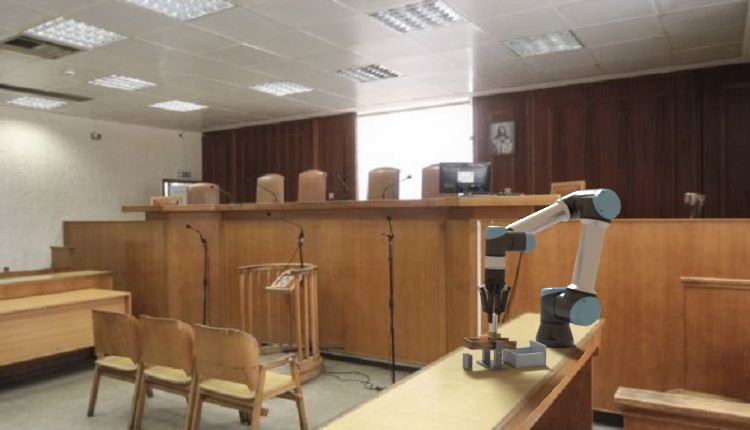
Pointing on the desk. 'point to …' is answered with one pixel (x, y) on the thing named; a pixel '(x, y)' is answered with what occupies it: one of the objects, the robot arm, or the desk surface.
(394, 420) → the desk surface
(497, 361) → the fulcrum
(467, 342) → the lever
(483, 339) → the ball
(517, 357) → the bin
